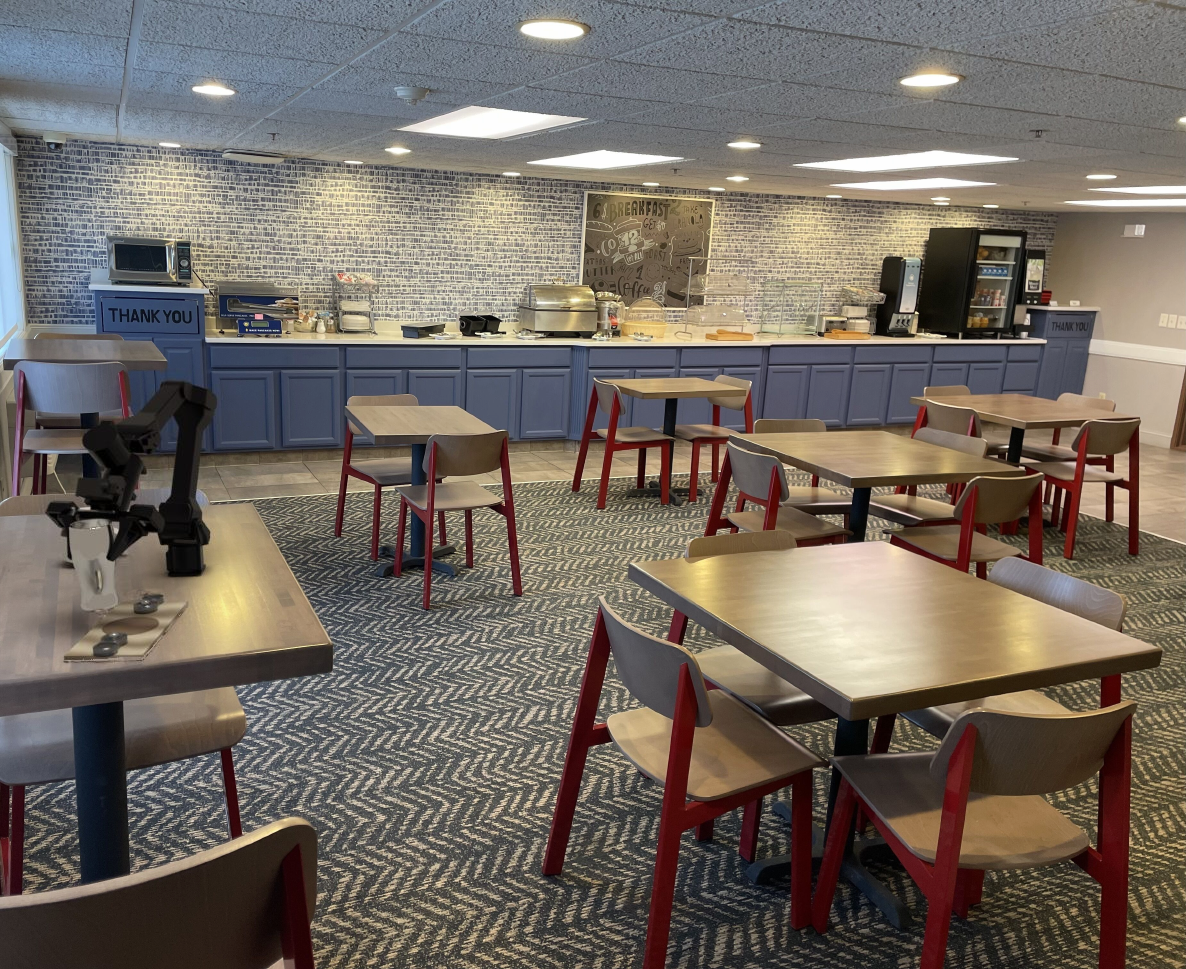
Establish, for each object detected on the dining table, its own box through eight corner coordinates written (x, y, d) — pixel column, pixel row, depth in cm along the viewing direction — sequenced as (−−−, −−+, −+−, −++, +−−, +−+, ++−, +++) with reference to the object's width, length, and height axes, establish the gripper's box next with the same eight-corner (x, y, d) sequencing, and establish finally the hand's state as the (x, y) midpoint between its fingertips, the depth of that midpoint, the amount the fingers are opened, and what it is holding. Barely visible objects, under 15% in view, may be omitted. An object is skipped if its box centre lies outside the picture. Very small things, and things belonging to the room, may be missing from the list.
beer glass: (107, 595, 170) (97, 515, 166) (130, 603, 166) (121, 522, 162) (69, 607, 164) (58, 525, 160) (92, 616, 160) (82, 532, 157)
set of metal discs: (144, 600, 178) (144, 590, 178) (167, 599, 179) (166, 590, 178) (88, 657, 152) (87, 647, 151) (114, 657, 152) (113, 646, 152)
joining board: (121, 606, 177) (120, 601, 177) (188, 605, 179) (187, 600, 179) (64, 662, 152) (63, 655, 152) (142, 660, 154) (142, 654, 153)
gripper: (45, 455, 163) (12, 534, 155) (152, 460, 163) (124, 539, 154) (75, 489, 173) (45, 565, 164) (176, 493, 172) (151, 570, 164)
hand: (90, 559), depth 161 cm, fingers closed on beer glass, 7 cm apart
